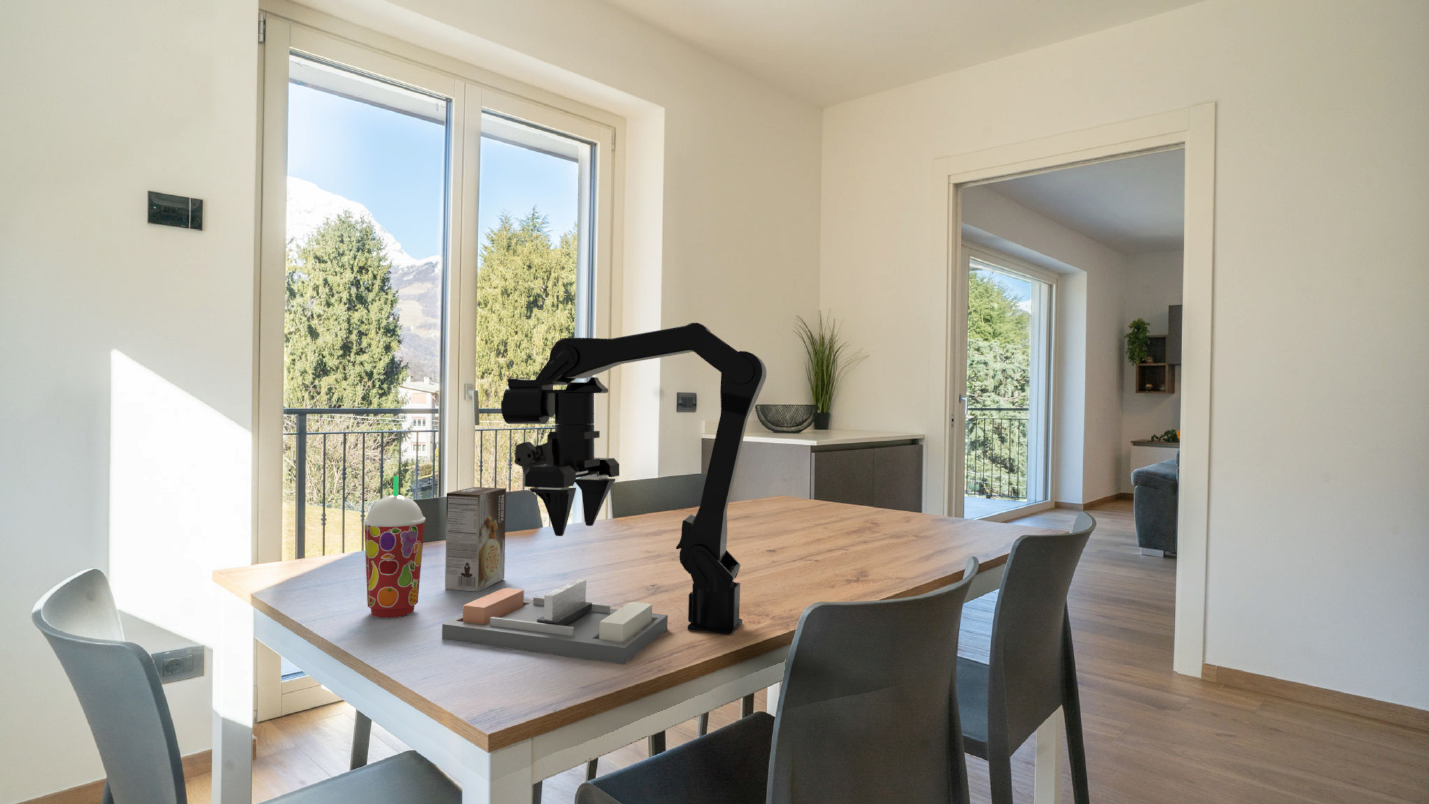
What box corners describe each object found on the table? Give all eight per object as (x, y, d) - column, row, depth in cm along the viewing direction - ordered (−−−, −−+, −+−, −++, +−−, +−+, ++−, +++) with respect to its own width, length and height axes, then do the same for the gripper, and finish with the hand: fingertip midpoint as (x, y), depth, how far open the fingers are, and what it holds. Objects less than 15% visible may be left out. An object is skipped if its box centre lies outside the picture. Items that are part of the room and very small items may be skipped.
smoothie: (399, 602, 117) (402, 472, 117) (435, 611, 112) (438, 476, 112) (348, 614, 110) (352, 476, 110) (385, 624, 105) (389, 480, 105)
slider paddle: (591, 609, 107) (592, 580, 107) (557, 629, 98) (558, 597, 98) (572, 607, 108) (573, 578, 108) (536, 627, 99) (537, 594, 99)
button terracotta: (523, 607, 110) (523, 590, 110) (483, 626, 101) (484, 607, 101) (504, 604, 111) (504, 587, 111) (462, 623, 102) (463, 605, 102)
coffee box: (471, 576, 134) (474, 486, 134) (505, 579, 133) (507, 487, 133) (443, 589, 125) (445, 492, 125) (478, 592, 124) (481, 494, 124)
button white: (651, 622, 105) (652, 604, 105) (622, 644, 95) (622, 624, 95) (630, 619, 106) (630, 601, 106) (599, 641, 96) (599, 621, 96)
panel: (667, 629, 107) (667, 607, 107) (624, 664, 92) (625, 639, 92) (504, 609, 114) (505, 589, 114) (442, 639, 100) (442, 616, 100)
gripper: (557, 422, 123) (558, 518, 123) (490, 426, 105) (490, 538, 105) (620, 422, 119) (620, 522, 119) (561, 426, 102) (562, 543, 102)
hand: (574, 530), depth 112 cm, fingers open, 9 cm apart
